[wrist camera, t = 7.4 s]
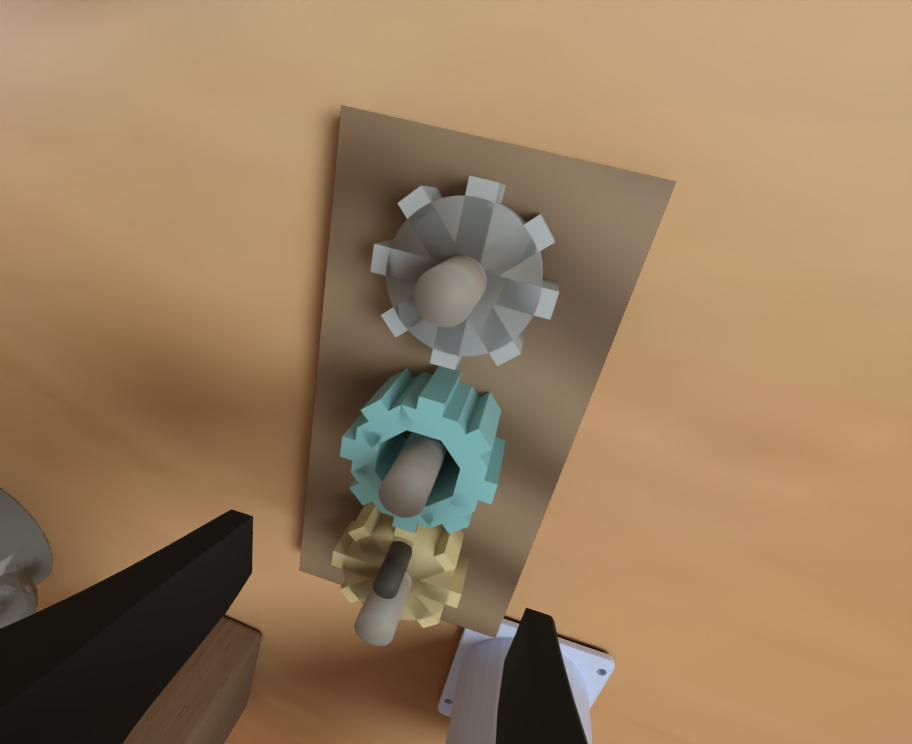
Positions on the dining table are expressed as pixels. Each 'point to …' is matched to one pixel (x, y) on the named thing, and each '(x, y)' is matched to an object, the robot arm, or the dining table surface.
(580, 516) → the dining table surface
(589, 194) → the gear board
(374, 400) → the teal gear
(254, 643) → the wooden block
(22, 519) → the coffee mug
